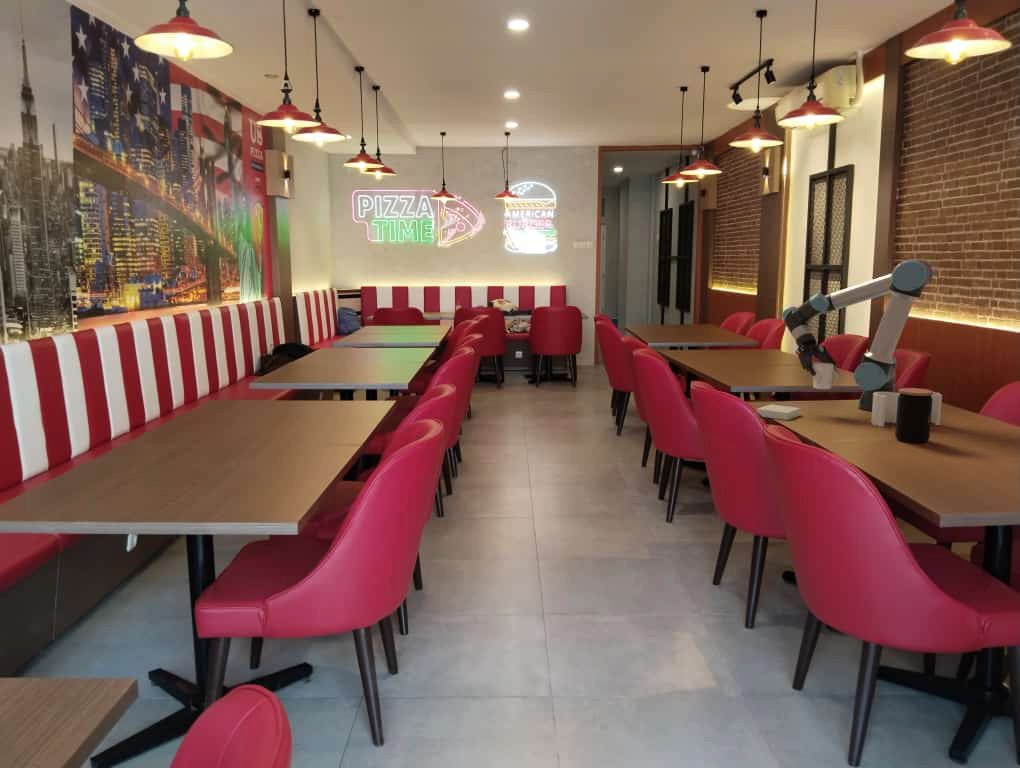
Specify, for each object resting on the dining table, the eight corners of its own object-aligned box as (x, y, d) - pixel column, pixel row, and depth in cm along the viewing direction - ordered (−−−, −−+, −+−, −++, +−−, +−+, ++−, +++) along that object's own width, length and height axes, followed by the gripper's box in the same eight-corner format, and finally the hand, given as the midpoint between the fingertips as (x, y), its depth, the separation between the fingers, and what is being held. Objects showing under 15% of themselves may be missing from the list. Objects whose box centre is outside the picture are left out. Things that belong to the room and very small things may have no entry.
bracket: (928, 420, 295) (931, 391, 293) (943, 426, 286) (945, 395, 284) (866, 421, 295) (868, 391, 293) (878, 427, 285) (880, 396, 283)
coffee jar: (933, 444, 258) (938, 393, 255) (901, 443, 259) (904, 392, 256) (922, 437, 268) (926, 388, 265) (890, 436, 270) (894, 387, 267)
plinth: (800, 415, 308) (800, 408, 307) (787, 420, 298) (787, 413, 298) (770, 411, 317) (770, 404, 316) (756, 415, 307) (756, 408, 307)
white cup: (834, 389, 304) (835, 365, 302) (814, 389, 306) (814, 365, 304) (830, 386, 312) (831, 362, 310) (810, 386, 313) (811, 363, 312)
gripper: (819, 342, 323) (844, 384, 310) (779, 344, 318) (802, 387, 305) (828, 331, 317) (854, 373, 305) (787, 333, 312) (811, 376, 299)
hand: (828, 380), depth 305 cm, fingers closed on white cup, 8 cm apart
